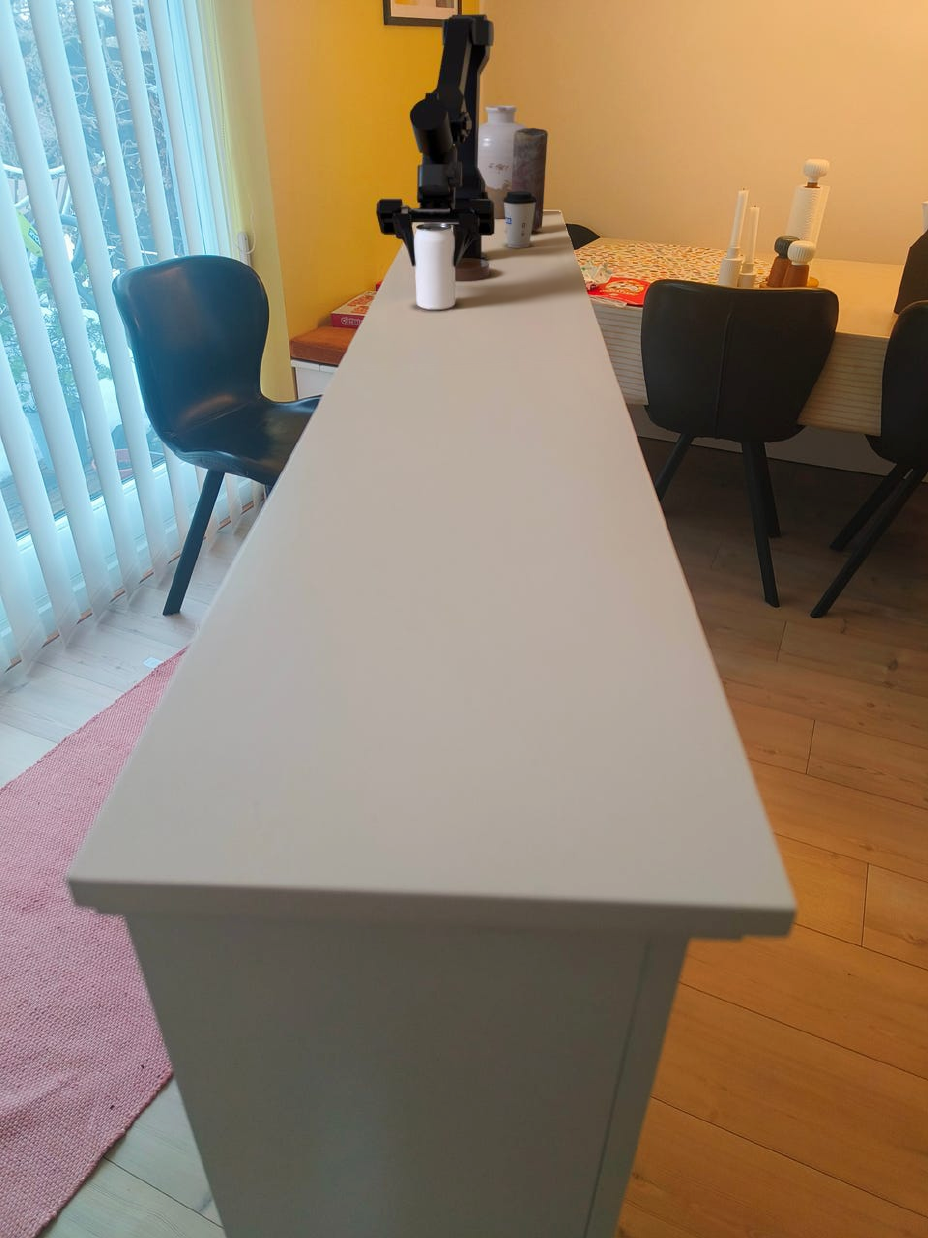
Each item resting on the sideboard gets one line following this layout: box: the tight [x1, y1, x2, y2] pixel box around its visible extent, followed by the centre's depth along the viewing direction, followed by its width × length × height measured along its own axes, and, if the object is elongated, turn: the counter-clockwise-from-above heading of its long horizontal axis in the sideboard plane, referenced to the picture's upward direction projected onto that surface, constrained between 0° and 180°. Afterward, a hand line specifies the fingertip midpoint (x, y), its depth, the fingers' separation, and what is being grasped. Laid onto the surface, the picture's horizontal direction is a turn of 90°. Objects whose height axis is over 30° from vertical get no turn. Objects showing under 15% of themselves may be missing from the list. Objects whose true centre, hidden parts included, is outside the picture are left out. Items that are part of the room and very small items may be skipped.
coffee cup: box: [503, 191, 537, 249], centre depth 170 cm, size 7×7×10 cm
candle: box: [511, 127, 549, 233], centre depth 179 cm, size 8×7×20 cm
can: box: [414, 223, 456, 311], centre depth 132 cm, size 6×6×12 cm
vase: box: [478, 105, 528, 219], centre depth 195 cm, size 16×16×23 cm
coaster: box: [455, 258, 490, 282], centre depth 152 cm, size 9×9×2 cm
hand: (433, 264), depth 130 cm, fingers closed on can, 6 cm apart
